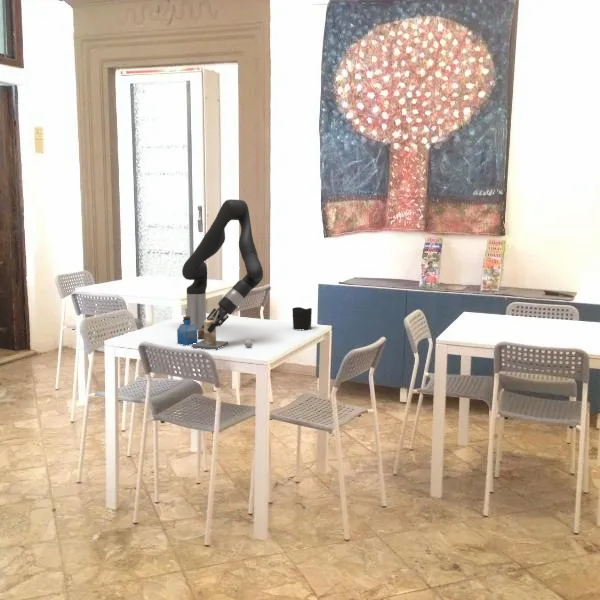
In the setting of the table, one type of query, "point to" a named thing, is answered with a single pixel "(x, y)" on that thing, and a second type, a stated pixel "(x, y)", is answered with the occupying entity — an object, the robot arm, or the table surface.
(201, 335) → the walnut cube
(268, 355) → the table surface
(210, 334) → the mottled tan cylinder
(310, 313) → the pen holder
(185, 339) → the perfume bottle
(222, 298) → the robot arm
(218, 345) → the trivet
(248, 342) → the grey ball
